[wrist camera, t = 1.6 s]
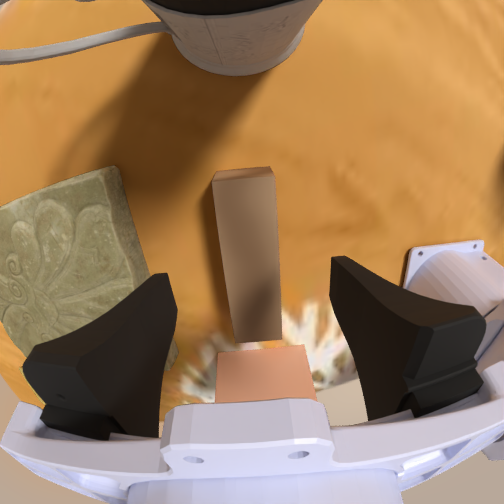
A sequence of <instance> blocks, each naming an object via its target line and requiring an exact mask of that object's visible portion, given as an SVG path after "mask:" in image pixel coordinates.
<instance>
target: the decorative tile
mask: <svg viewBox="0 0 504 504" xmlns="http://www.w3.org/2000/svg"><path fill="white" fill-rule="evenodd" d="M149 277H151V276H150V273H149V270H148V267H147V264H146V261H145V258H144V255H143V252H142V249H141V245H140V242H139V239H138V235H137V232H136V229H135V226H134V222H133V219H132V216H131V212H130V209H129V205H128V202H127V198H126V194H125V190H124V187H123V183H122V179H121V174H120V170H119V169H118V168H117V167H116V166H109V167H105V168H101V169H97V170H94V171H91V172H87V173H84V174H81V175H78V176H75V177H72V178H69V179H66V180H64V181H61V182H58V183H56V184H53V185H50V186H48V187H45V188H42V189H40V190H37V191H35V192H32V193H30V194H27V195H25V196H23V197H20V198H18V199H16V200H14V201H12V202H9V203H7V204H5V205H3V206H0V321H1V322H2V323H3V326H4V328H5V330H6V332H7V334H8V335H9V337H10V338H11V340H12V341H13V343H14V344H15V345H16V346H17V347H18V348H19V349H20V350H21V351H22V353H23V354H24V355H25V356H26V357H28V355H29V354H30V352H31V351H32V349H33V347H34V346H35V345H37V344H40V343H44V342H47V341H50V340H53V339H56V338H58V337H61V336H63V335H66V334H68V333H70V332H73V331H75V330H77V329H79V328H81V327H83V326H84V325H86V324H88V323H90V322H92V321H94V320H95V319H97V318H98V317H100V316H101V315H103V314H105V313H106V312H107V311H109V310H110V309H112V308H113V307H114V306H116V305H117V304H118V303H119V302H121V301H122V300H123V299H124V298H126V297H127V296H128V295H129V294H130V293H132V292H133V291H134V290H135V289H136V288H138V287H139V286H140V285H141V284H142V283H143V282H145V281H146V280H147V279H148V278H149ZM178 353H179V351H178V348H177V346H176V343H175V341H174V338H172V342H171V346H170V349H169V353H168V357H167V360H166V364H165V368H164V370H166V371H168V370H170V369H171V367H172V366H173V364H174V362H175V360H176V358H177V355H178Z"/></svg>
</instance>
